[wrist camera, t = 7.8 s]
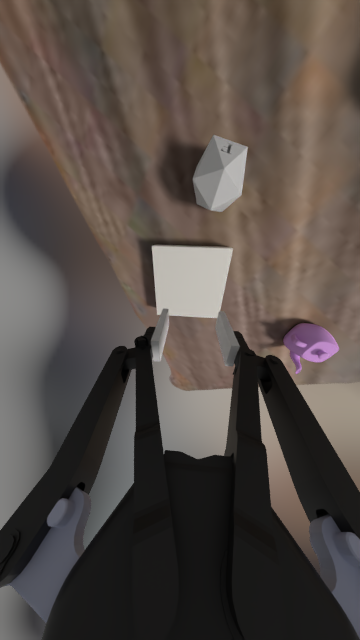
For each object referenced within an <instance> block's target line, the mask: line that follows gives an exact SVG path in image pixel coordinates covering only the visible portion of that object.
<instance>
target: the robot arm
mask: <svg viewBox="0 0 360 640" xmlns="http://www.w3.org/2000/svg"><path fill="white" fill-rule="evenodd" d="M168 328H169V309H164V308H163V310H162V312H161V315H160V318H159V320H158V323H157V325H156V327H149V328H148V329H147V330H146V333H145V335H144V336H140V337H137V338H136V339H135V348H131V349H127V348H126V347H125V346H119V347H117V348H115V349H114V350H113V351H112V353H111V355H110V357H109V359H108V361H107V362H106V364H105V366H104V368H103V370H102V372H101V373H100V375H99V377H98V379H97V381H96V383H95V385H94V387H93V388H92V390H91V392H90V394H89V396H88V398H87V399H86V401H85V403H84V405H83V407H82V409H81V411H80V412H79V414H78V416H77V418H76V420H75V422H74V424H73V425H72V427H71V429H70V431H69V433H68V435H67V437H66V439H65V440H64V442H63V444H62V446H61V448H60V450H59V452H58V453H57V455H56V457H55V459H54V461H53V463H52V465H51V466H50V468H49V469H48V471H47V472H46V473H45V474H44V476H43V477H42V478H41V480H40V481H39V482H38V483H37V485H36V486H35V487H34V488H33V490H32V491H31V492H30V493H29V495H28V496H27V497H26V498H25V500H24V501H23V502H22V504H21V505H20V506H19V507H18V509H17V510H16V511H15V513H14V514H13V515H12V516H11V517H10V519H9V520H8V521H7V523H6V524H5V525H4V526H3V528H2V529H1V530H0V587H3V586H7V585H10V586H12V587H13V588H14V589H15V590H16V591H17V592H18V593H19V594H20V595H21V596H22V597H23V599H24V600H25V601H26V602H27V603H28V604H29V605H30V606H31V607H32V608H33V609H34V610H35V611H36V613H37V614H38V615H39V616H40V617H41V618H42V619H43V620H44V621H45V622H46V627H45V630H44V633H43V637H42V640H360V492H359V490H358V488H357V487H356V485H355V483H354V482H353V480H352V479H351V477H350V475H349V473H348V472H347V470H346V468H345V467H344V465H343V463H342V462H341V460H340V458H339V457H338V455H337V453H336V452H335V450H334V448H333V447H332V445H331V443H330V442H329V440H328V438H327V436H326V435H325V433H324V432H323V430H322V428H321V426H320V425H319V423H318V421H317V420H316V418H315V416H314V415H313V413H312V411H311V410H310V408H309V406H308V405H307V403H306V401H305V400H304V398H303V396H302V395H301V393H300V391H299V389H298V388H297V387H296V384H295V383H294V381H293V379H292V378H291V376H290V374H289V373H288V371H287V369H286V368H285V366H284V364H283V363H282V361H281V360H280V359H279V358H277V357H275V356H272V355H268V356H266V358H263V357H260V356H257V355H256V354H255V353H254V351H252V350H250V349H249V348H248V346H247V344H246V342H245V340H244V338H243V336H242V334H241V333H240V332H238V331H233V330H232V327H231V325H230V323H229V321H228V318H227V316H226V314H225V312H223V311H219V312H218V317H217V322H216V327H215V329H216V333H217V336H218V340H219V344H220V348H221V352H222V355H223V359H224V363H225V366H233V365H234V363H235V369H234V372H233V375H234V378H233V388H232V397H231V407H230V416H229V426H228V436H227V444H226V450H225V454H224V456H219V455H213V456H209V457H206V458H202V459H195V458H193V457H191V456H189V455H187V454H185V453H183V452H179V451H168V450H165V454H163V447H162V438H161V431H160V423H159V415H158V407H157V399H156V392H155V383H154V376H153V368H152V358H153V361H161V357H162V353H163V348H164V344H165V340H166V336H167V332H168ZM132 369H136V432H135V437H134V483H133V485H132V486H131V488H130V489H129V490H128V492H127V493H126V494H125V496H124V497H123V499H122V500H121V501H120V503H119V504H118V505H117V507H116V508H115V510H114V511H113V512H112V514H111V515H110V516H109V518H108V519H107V521H106V522H105V523H104V525H103V526H102V527H101V529H100V530H99V532H98V533H97V534H96V536H95V537H94V538H93V540H92V541H91V542H90V544H89V545H88V547H87V548H86V550H84V546H83V534H84V529H85V526H86V523H87V520H88V517H89V514H90V510H91V499H90V496H89V493H90V490H91V488H92V486H93V484H94V481H95V479H96V476H97V474H98V471H99V468H100V465H101V462H102V459H103V456H104V453H105V450H106V446H107V444H108V441H109V437H110V434H111V431H112V428H113V425H114V422H115V419H116V416H117V413H118V410H119V407H120V404H121V400H122V397H123V394H124V391H125V388H126V385H127V382H128V379H129V376H130V372H131V370H132ZM258 384H259V386H260V389H261V392H262V395H263V397H264V401H265V403H266V406H267V409H268V412H269V415H270V418H271V421H272V423H273V426H274V429H275V432H276V435H277V438H278V441H279V444H280V446H281V449H282V452H283V455H284V458H285V461H286V463H287V466H288V469H289V472H290V475H291V478H292V481H293V483H294V486H295V489H296V491H297V494H298V497H299V499H300V502H301V504H302V506H303V508H304V510H305V513H306V515H307V517H308V519H309V521H310V527H309V532H310V542H311V546H312V548H313V550H314V552H315V553H316V554H317V557H318V560H319V564H320V572H321V577H320V575H319V574H318V573H317V572H316V570H315V568H314V567H313V565H312V564H311V563H310V561H309V560H308V558H307V557H306V556H305V554H304V553H303V551H302V550H301V548H300V547H299V546H298V544H297V543H296V541H295V540H294V538H293V537H292V536H291V534H290V533H289V531H288V530H287V528H286V527H285V526H284V524H283V523H282V521H281V520H280V518H279V517H278V516H277V514H276V513H275V512H274V510H273V509H272V507H271V501H270V489H269V477H268V465H267V454H266V448H265V445H264V444H263V443H262V439H261V425H260V411H259V410H260V409H259V394H258Z"/></svg>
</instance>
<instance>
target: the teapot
mask: <svg viewBox="0 0 360 640" xmlns="http://www.w3.org/2000/svg"><path fill="white" fill-rule="evenodd" d="M283 343H284V345H285V346H286V347H287V348H288V349H289V350H290V357H291V359H292V360H293V362H294V363H295V365H296V374H298V373H299V372H300V371H301V368H302V367H301V363H300V357H302V358H304V359H306V360H309V361H313V362H322V361H324V360H326V359H328V358H329V357H331V356H332V355H334V354H335V353H336V352H337V351H338V350H339V347H338V345H337V343H336V341H335V339H334V338H333V336H332V335H331V334H330V333H329V332H328V331H327V330H326V329H324V328H323V327H321V326H318V325H315V324H309V323H300V324H298V325H296V326H295V327H293V328H292V329H291V330H290V331H289V332H288V333H287V334H286V335H285V336H284V339H283Z"/></svg>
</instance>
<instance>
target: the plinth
mask: <svg viewBox="0 0 360 640" xmlns="http://www.w3.org/2000/svg"><path fill="white" fill-rule="evenodd" d="M232 251H233V248H230V247H218V246H187V245H153V246H152V255H153V268H154V280H155V293H156V306H157V315H161V312H162V310H163V308H164V309H169V315H171V316H189V317H207V318H217V317H218V312H219V311H220V309H221V304H222V299H223V294H224V289H225V285H226V280H227V275H228V270H229V265H230V261H231V256H232Z"/></svg>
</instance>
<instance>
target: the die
mask: <svg viewBox="0 0 360 640" xmlns="http://www.w3.org/2000/svg"><path fill="white" fill-rule="evenodd" d="M247 148H248V147H246V146H243V145H241V144H238V143H235V142H232V141H229V140H227V139H224V138H221V137H218V136H216V135H213V137H212V139H211V141H210V142H209V144H208V146H207V148H206V150H205V152H204V154H203V155H202V157H201V159H200V161H199V163H198V165H197V167H196V170H195V173H194V176H193V184H194V190H195V196H196V202H197V204H198V205H200V206H202V207H204V208H207V209H209V210H212V211H219V212H222V211H224V210H225V209H226V208H227V207H228V206H229V205H230V204H232V203H233V202H234V201H235V200H236V199H237V198H239V197H240V196H241V195H242V187H243V179H244V172H245V164H246V156H247Z"/></svg>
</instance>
